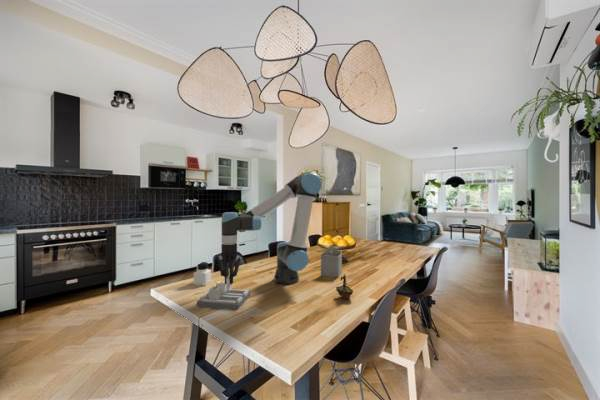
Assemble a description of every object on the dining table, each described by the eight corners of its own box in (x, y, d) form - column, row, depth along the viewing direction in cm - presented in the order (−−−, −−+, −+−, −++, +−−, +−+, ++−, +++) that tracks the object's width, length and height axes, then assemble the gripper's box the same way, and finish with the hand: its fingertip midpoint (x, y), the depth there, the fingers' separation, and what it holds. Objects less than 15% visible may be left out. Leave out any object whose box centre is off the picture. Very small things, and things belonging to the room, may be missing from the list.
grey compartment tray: (250, 295, 122) (250, 288, 122) (238, 309, 106) (238, 302, 106) (213, 292, 125) (213, 286, 125) (196, 306, 109) (196, 299, 109)
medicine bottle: (211, 281, 141) (211, 261, 141) (205, 285, 134) (205, 264, 134) (199, 281, 142) (199, 260, 142) (193, 285, 135) (193, 264, 135)
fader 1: (220, 297, 114) (221, 286, 114) (217, 300, 110) (217, 289, 110) (213, 296, 114) (213, 286, 114) (209, 300, 110) (209, 288, 110)
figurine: (356, 301, 116) (356, 276, 116) (341, 303, 114) (342, 278, 114) (346, 293, 126) (347, 270, 126) (333, 295, 123) (333, 271, 123)
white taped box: (227, 290, 122) (227, 280, 122) (223, 293, 118) (223, 283, 118) (219, 290, 122) (219, 280, 122) (216, 293, 119) (216, 282, 118)
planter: (327, 279, 147) (327, 248, 147) (320, 275, 154) (320, 245, 154) (348, 276, 154) (348, 246, 154) (341, 272, 161) (341, 244, 161)
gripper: (244, 242, 122) (244, 288, 122) (220, 241, 124) (220, 286, 124) (239, 245, 115) (238, 294, 115) (213, 244, 116) (212, 292, 117)
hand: (228, 290), depth 119 cm, fingers closed
